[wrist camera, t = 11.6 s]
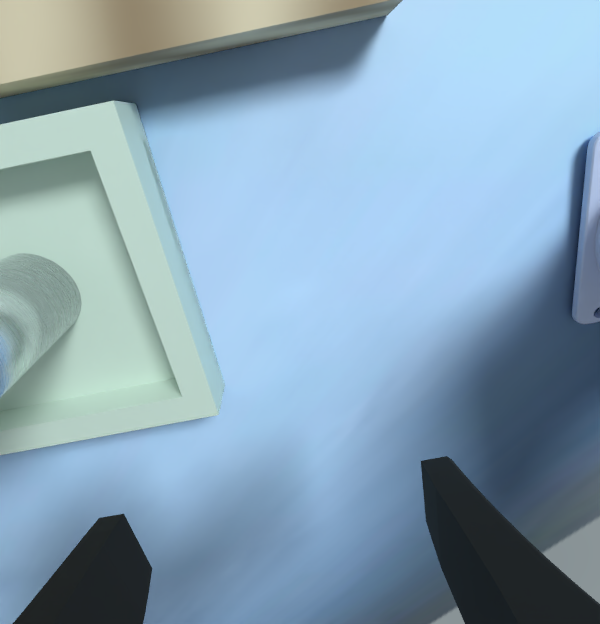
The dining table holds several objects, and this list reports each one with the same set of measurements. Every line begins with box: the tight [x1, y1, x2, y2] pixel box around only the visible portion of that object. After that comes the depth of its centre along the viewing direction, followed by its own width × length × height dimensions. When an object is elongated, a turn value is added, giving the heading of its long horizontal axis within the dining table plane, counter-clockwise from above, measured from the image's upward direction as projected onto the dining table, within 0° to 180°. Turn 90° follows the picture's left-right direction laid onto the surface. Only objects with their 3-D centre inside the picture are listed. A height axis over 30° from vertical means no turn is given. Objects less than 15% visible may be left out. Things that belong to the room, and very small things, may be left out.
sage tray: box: [0, 101, 225, 455], centre depth 16 cm, size 12×12×2 cm
